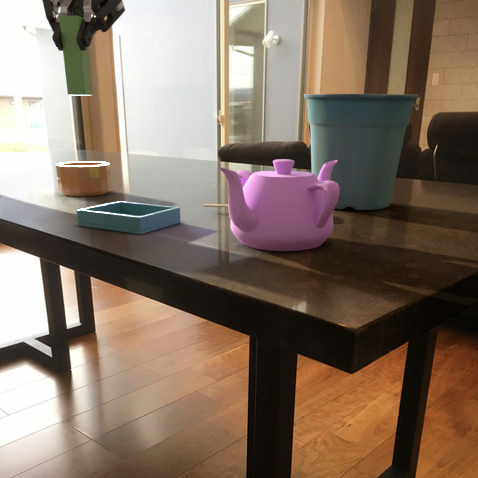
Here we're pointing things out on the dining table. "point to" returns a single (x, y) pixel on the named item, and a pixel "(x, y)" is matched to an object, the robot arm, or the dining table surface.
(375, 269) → the dining table surface
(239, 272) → the dining table surface
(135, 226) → the tray
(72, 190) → the bowl
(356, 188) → the flower pot
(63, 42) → the block
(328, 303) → the dining table surface
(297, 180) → the teapot
